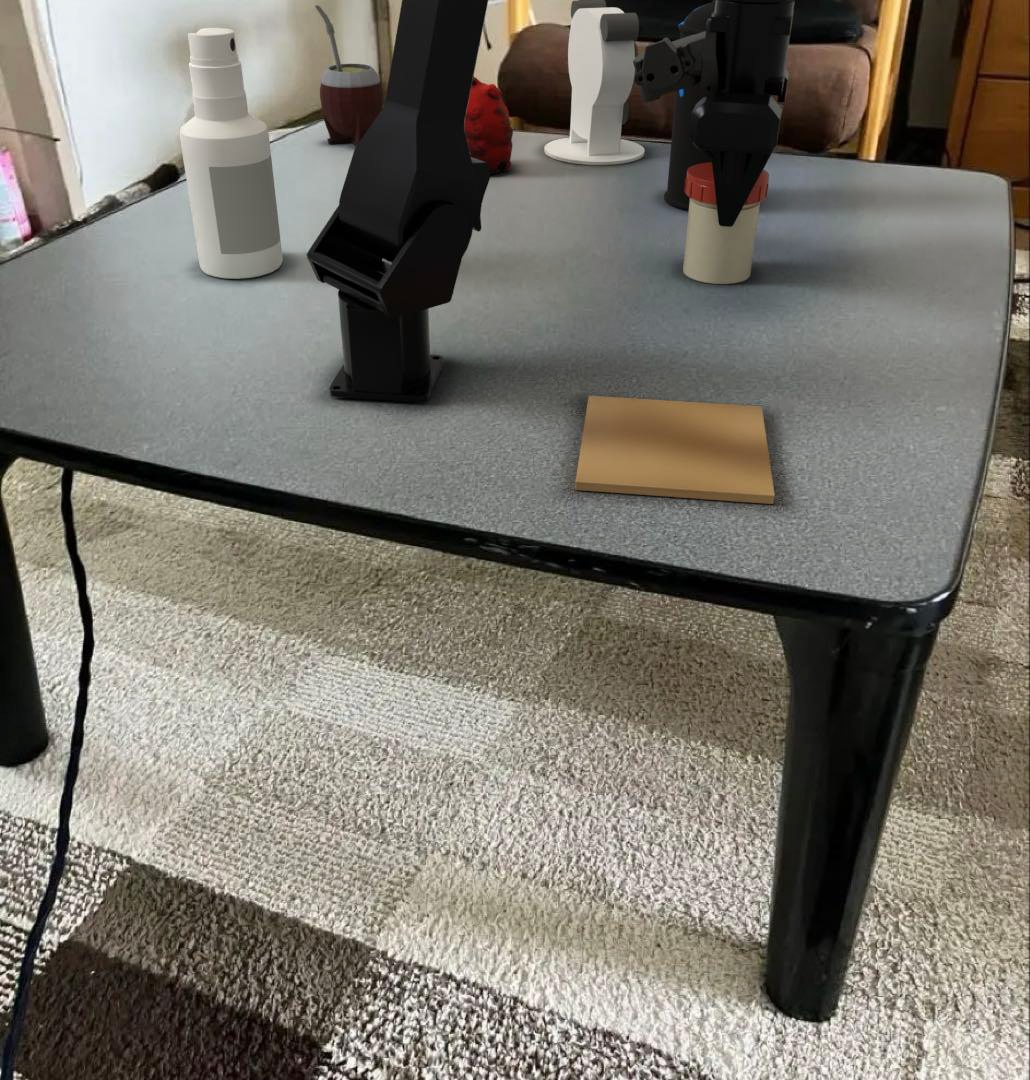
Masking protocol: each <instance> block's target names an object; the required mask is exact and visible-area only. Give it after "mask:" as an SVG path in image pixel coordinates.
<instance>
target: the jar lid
mask: <svg viewBox="0 0 1030 1080" xmlns="http://www.w3.org/2000/svg"><path fill="white" fill-rule="evenodd" d="M769 182H770V173H769V172H768V171H767V170H765V168H764V169H763V171H762V173H761V174H760V176H759V178H758V180H757V182H756V184H755V186H754V187H753V189H752V191H751V193H750V195H749V197H748V198H747V200H746V202H745V204H744V205H750V204H755V203H759V202H760V203H761V202H763V201H764V200H766V199H767V198H768V191H769ZM684 192H685V193H686V195H687V196H689V197H690V198H692V199H694V200H697V201H700V202H704V203H709V204H715V205H717V204H716V195H715V186H714V177H713V169H712V163H711V162H709V163H701V164H697V165H694V166H691V167H690V168H688V170H687V178H686V181H685V191H684Z"/></svg>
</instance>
